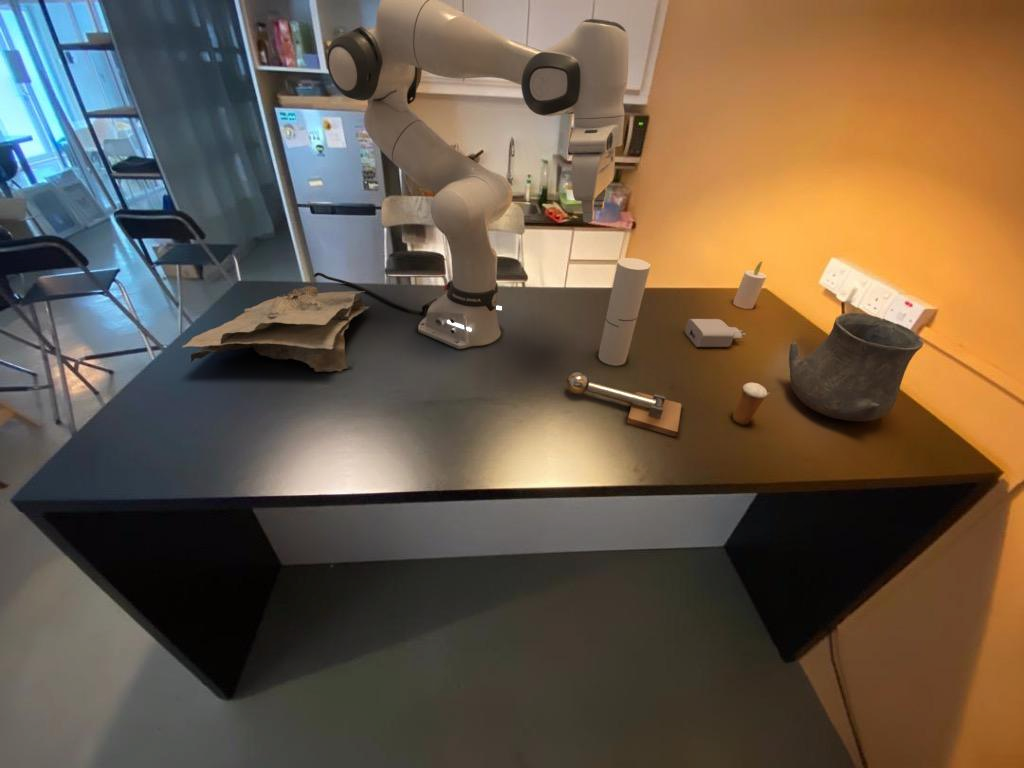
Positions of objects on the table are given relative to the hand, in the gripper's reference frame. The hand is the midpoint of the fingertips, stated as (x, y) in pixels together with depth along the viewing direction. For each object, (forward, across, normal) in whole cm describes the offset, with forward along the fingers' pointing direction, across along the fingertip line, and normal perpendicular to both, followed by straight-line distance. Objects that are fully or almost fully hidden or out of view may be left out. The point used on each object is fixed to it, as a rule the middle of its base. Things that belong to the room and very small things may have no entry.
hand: (593, 215), depth 85 cm
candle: (+41, -60, +39) cm, 82 cm away
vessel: (+43, -10, +56) cm, 71 cm away
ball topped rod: (+36, +12, +8) cm, 39 cm away
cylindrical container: (+37, -7, +5) cm, 38 cm away
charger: (+40, -30, +30) cm, 58 cm away
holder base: (+38, +12, +18) cm, 43 cm away
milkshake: (+40, +5, +36) cm, 54 cm away
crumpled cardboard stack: (+28, +22, -70) cm, 78 cm away
